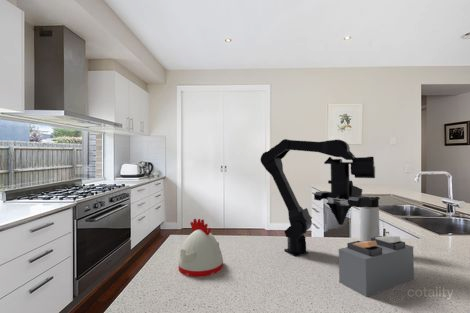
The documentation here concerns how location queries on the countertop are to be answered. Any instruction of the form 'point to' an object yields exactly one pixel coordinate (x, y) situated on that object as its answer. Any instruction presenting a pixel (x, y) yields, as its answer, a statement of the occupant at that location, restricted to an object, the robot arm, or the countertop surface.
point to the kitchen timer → (200, 252)
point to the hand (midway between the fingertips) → (340, 224)
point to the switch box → (375, 266)
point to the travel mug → (369, 220)
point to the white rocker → (389, 239)
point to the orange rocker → (366, 244)
